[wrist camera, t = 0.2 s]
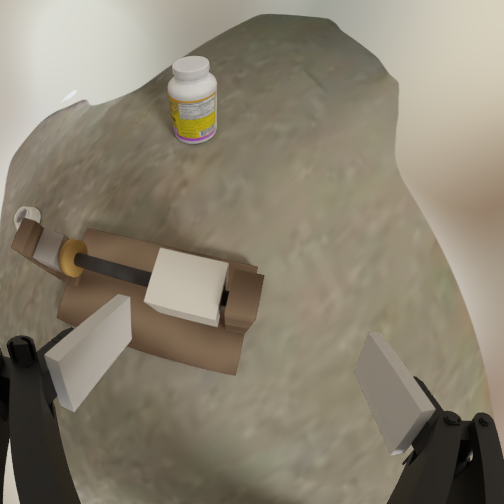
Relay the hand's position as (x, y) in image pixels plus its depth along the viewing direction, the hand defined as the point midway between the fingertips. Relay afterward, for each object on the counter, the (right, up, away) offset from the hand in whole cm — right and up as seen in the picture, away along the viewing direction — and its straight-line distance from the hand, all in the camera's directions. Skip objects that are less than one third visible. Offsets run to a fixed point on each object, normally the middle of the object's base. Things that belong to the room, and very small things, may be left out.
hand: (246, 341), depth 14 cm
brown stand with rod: (-11, -1, +15) cm, 19 cm away
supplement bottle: (-9, +23, +25) cm, 36 cm away
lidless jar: (-34, +9, +17) cm, 39 cm away
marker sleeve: (-5, +1, +8) cm, 10 cm away
